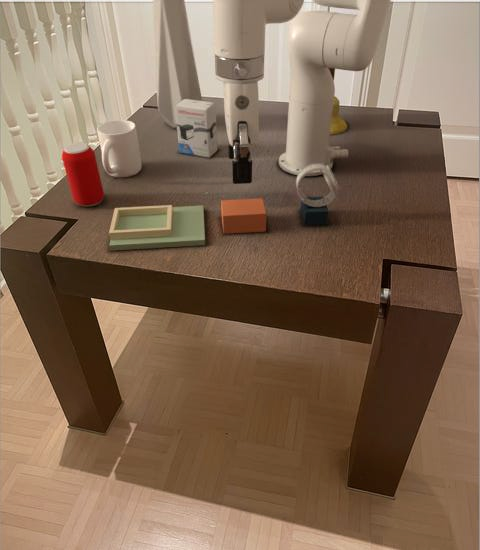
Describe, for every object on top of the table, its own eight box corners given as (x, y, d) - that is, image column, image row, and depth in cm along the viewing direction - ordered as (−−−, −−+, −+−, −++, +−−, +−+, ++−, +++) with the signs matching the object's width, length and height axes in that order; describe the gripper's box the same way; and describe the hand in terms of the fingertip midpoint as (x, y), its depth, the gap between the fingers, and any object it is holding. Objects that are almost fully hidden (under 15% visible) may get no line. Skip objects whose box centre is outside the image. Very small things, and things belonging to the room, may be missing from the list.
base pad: (203, 210, 92) (202, 198, 90) (205, 245, 83) (204, 232, 81) (118, 215, 91) (115, 203, 89) (110, 250, 82) (107, 238, 80)
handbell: (354, 131, 122) (370, 27, 106) (311, 136, 120) (321, 30, 104) (336, 115, 131) (349, 17, 115) (296, 119, 129) (303, 20, 113)
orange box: (262, 215, 90) (262, 198, 88) (265, 231, 86) (266, 213, 83) (221, 218, 90) (221, 200, 87) (223, 234, 85) (222, 215, 83)
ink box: (178, 152, 113) (173, 105, 105) (187, 145, 116) (183, 98, 109) (209, 158, 110) (207, 109, 103) (218, 150, 114) (216, 102, 106)
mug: (125, 188, 99) (117, 143, 93) (91, 184, 101) (80, 139, 94) (147, 164, 108) (141, 121, 102) (116, 160, 110) (107, 118, 103)
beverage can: (85, 212, 92) (70, 156, 84) (69, 202, 95) (53, 147, 87) (111, 201, 95) (99, 146, 88) (94, 191, 98) (81, 137, 91)
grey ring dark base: (336, 225, 87) (344, 172, 80) (295, 226, 87) (299, 173, 80) (331, 209, 92) (338, 158, 85) (291, 210, 92) (295, 159, 85)
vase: (201, 131, 123) (192, -11, 102) (159, 132, 123) (141, -11, 102) (205, 115, 132) (197, -19, 111) (165, 115, 133) (150, -18, 112)
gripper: (271, 82, 63) (267, 192, 74) (257, 52, 77) (255, 149, 87) (217, 84, 63) (221, 194, 73) (213, 53, 76) (216, 150, 87)
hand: (239, 169), depth 80 cm, fingers open, 9 cm apart
